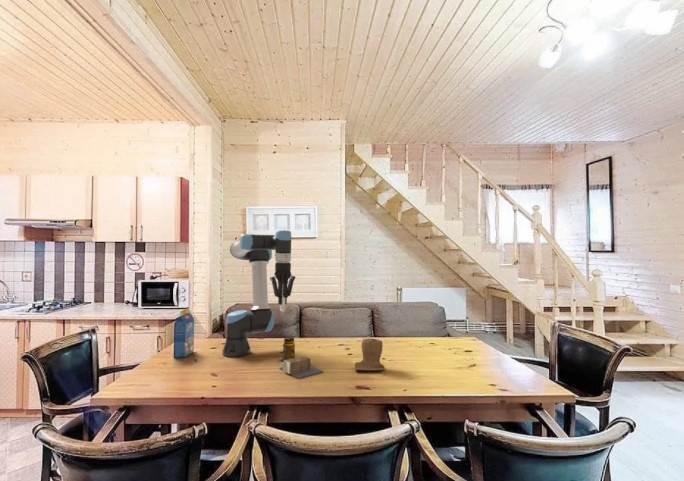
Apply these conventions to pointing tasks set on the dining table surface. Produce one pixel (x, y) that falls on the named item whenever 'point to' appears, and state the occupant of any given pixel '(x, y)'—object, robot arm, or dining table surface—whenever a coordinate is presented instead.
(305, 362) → the walnut block
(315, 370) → the mat
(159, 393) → the dining table surface
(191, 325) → the blue food package
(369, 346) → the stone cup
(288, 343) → the condiment
